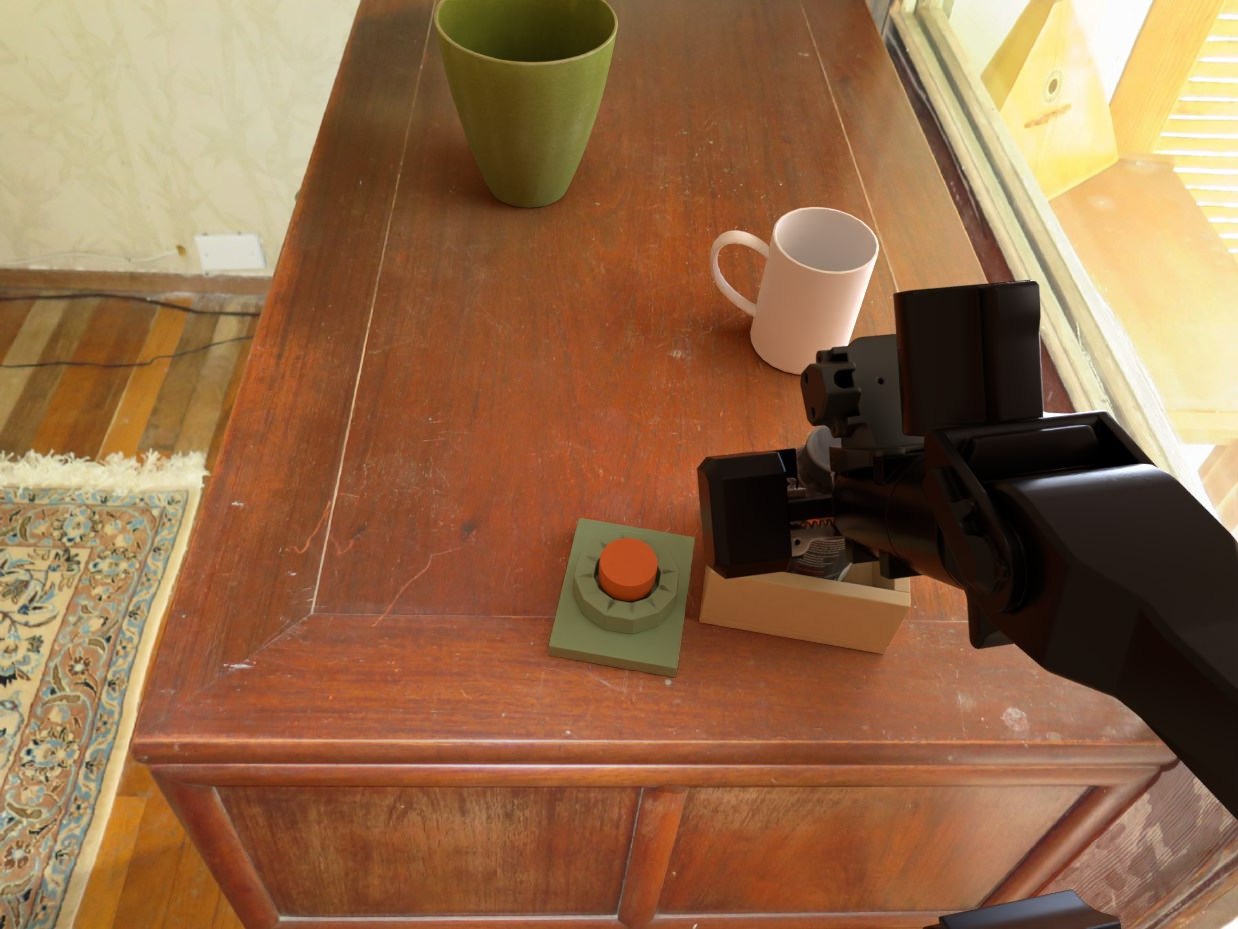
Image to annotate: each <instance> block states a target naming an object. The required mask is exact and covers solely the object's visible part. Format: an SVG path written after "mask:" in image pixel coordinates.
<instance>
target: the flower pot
mask: <svg viewBox="0 0 1238 929" xmlns="http://www.w3.org/2000/svg"><path fill="white" fill-rule="evenodd" d="M433 12H434V13H433V22H434V27H435V32H436V37H437V41H438V45H439V52H440V55H441V60H442V62H443V67H444V68H443V69H444V72H445V75H446V79H447V82H448V88H449V90H450V93H451V96H452V100H453V104H454V107H455V110H456V113H457V115H458V118H459V122H460V124H461V126H462V130H463V132H464V135H465V137H466V141H467V142H468V145H469V147H470V150H471V152H472V155H473V157H474V159H475V162H476V164H477V166H478V168H479V170H480V172H481V175H482V177H483V179H484V181H485V183H486V185H487V187H488V189H489V191H490V193H491V194H492V196H494V197H495V198H496V199H497V200H498V201H501V202H502V203H505V204H507V205H510V206H513V207H518V208H524V209H525V208H527V209H528V208H529V209H530V208H531V209H532V208H533V209H534V208H540V207H545V206H548V205H552V204H554V203H556V202H557V201H559V200H561V199H562V198H563V197H564V195H565V194H566V192H567V191H568V189H569V187H570V185H571V183H572V181H573V179H574V176H575V174H576V171H577V169H578V167H579V165H580V162H581V160H582V158H583V156H584V154H585V151H586V149H587V145H588V143H589V140H590V137H591V135H592V132H593V129H594V126H595V123H596V120H597V117H598V113H599V110H600V107H601V104H602V99H603V96H604V92H605V88H606V85H607V80H608V76H609V71H610V67H611V62H612V58H613V53H614V48H615V42H616V37H617V31H618V28H619V21H618V17H617V15H616V12H615V10H614V9H613V7H612V6H611V4H609V3H608V2H607V1H606V0H439V2H438V4H437V5H436V7H435V9H434V11H433Z"/></svg>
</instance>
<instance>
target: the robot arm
mask: <svg viewBox="0 0 1238 929" xmlns="http://www.w3.org/2000/svg"><path fill="white" fill-rule="evenodd" d="M1040 293H1041V290H1040V284H1039V283H1038V281H1037V280H1032V279H1023V280H1010V281H999V282H998V281H997V282H989V283H978V284H966V285H965V284H964V285H953V286H943V287H932V288H919V289H909V290H908V289H907V290H903V291H898V292H894V293H892V296H893V297H892V299H893V315H894V326H895V327H894V330H895V333H890V334H876V335H867V336H859V337H856V338H855V339H853V340H852V341H851V342H849V343H848V346H839V347H832V348H831V349H830V350H819V351H817V353H816V363H813V364H809V365H808V366H807V367H806V368H805V370H804V371H803V372H802V373H801V375H800V377H799V378H800V379H799V385H800V389H801V390H800V391H801V394H802V395H801V396H802V399H803V400H802V401H803V406H804V411H805V414H806V420H807V422H808V423H809V424H810V425H811V426H812V427H821V426H827V427H828V428H829V429H830V432H831V435H832V437H833V438H841V445H837V446H829V458H830V469H831V471H832V473H831V475H830V480H831V486H832V489H833V490H832V494H824V495H816V496H807V497H806V489H805V488H802V487H799V485H798V472H797V458H796V449H797V448H796V447H792V448H781V449H774V450H773V449H772V450H763V451H761V450H760V451H747V452H746V451H745V452H737V453H726V454H727V455H725V454H721V455H720V454H718V455H707V456H705V457H704V459H703V460H701V463H700V464H699V465H698V466H697V467H696V476H697V477H696V478H697V486H698V488H697V489H698V500H699V511H700V513H699V514H700V523H701V524H700V525H701V536H702V537H701V538H702V547H703V548H702V549H703V560H704V561H703V562H704V564H705V566H706V565H707V566H708V567H710V568H711V569H712V570H713V571H714V572H716V573H717V574H719V575H720V576H722V577H723V578H724V579H731V578H739V577H746V576H754V575H762V574H770V573H777V572H785V571H788V569H789V566H790V563H791V560H793V559H800V558H804V553H805V552H806V551H807V550H808V549H809V546H810V544H811V542H812V541H816V540H824V539H832V538H840V537H844V545H845V559H846V561H848V562H850V563H852V564H858V563H866V562H874V561H879V565H880V576H882V577H884V578H887V579H889V580H891V579H899V578H906V577H910V578H913V577H921V576H926V577H928V578H931V579H933V580H936V581H938V582H941V583H943V584H946V585H948V586H951V587H953V588H956V589H959V590H961V591H963V592H964V594H965V598H966V606H967V622H968V625H967V626H968V639H969V643H970V646H971V647H973V649H976V650H984V649H990V648H996V647H1003V646H1009V645H1015V646H1017V648H1018V649H1019V650H1020V651H1022V652H1023V653H1024V654H1025V655H1027V657H1029V658H1030V659H1031V660H1032V661H1034V662H1035V664H1037V665H1039V666H1040V667H1041V668H1042V669H1043V670H1045V671H1046V672H1048V673H1050V674H1052V675H1055V676H1057V677H1060V678H1062V679H1065V680H1068V681H1070V682H1073V683H1076V684H1078V685H1080V686H1083V687H1086V688H1088V689H1091V690H1094V691H1096V692H1099V693H1102V694H1104V695H1107V696H1109V697H1112V698H1113V699H1116V700H1117V701H1119V702H1120V703H1121V704H1123V705H1124V706H1125V707H1126V708H1127V709H1129V710H1130V711H1131V712H1132V713H1133V714H1135V715H1136V716H1137V717H1139V718H1140V720H1142V721H1143V722H1144V723H1145V724H1146V726H1147V727H1148V728H1149V729H1150V730H1151V731H1152V732H1153V733H1154V734H1155V735H1156V736H1157V737H1158V738H1159V739H1160V740H1161V741H1162V743H1163V744H1164V745H1165V746H1166V747H1167V748H1168V749H1169V750H1170V752H1172V753H1173V754H1174V755H1175V756H1176V757H1177V758H1178V760H1179V761H1180V762H1181V763H1182V764H1183V765H1184V766H1186V767H1185V768H1187V769H1188V770H1189V771H1190V772H1191V773H1192V774H1193V775H1194V776H1195V778H1197V779H1198V781H1199V782H1200V783H1201V784H1202V785H1203V786H1204V787H1205V788H1206V789H1207V790H1208V791H1209V792H1210V794H1212V796H1213V797H1215V799H1216V800H1217V801H1218V802H1219V803H1220V804H1221V805H1222V806H1223V807H1224V808H1225V809H1226V810H1227V811H1228V812H1229V814H1231V816H1232V817H1233V818H1234V819H1235V820H1236V821H1237V822H1238V540H1237V539H1236V538H1235V537H1234V536H1233V534H1232V533H1231V532H1230V531H1229V530H1228V529H1227V528H1226V527H1225V526H1224V525H1223V523H1221V522H1220V521H1219V519H1217V518H1216V517H1215V516H1214V515H1213V514H1212V513H1211V512H1210V511H1209V510H1208V509H1207V508H1206V507H1205V506H1204V505H1203V504H1202V503H1201V502H1200V501H1199V500H1198V499H1197V498H1196V497H1195V496H1194V495H1193V493H1191V492H1190V491H1189V489H1187V488H1186V487H1185V486H1184V485H1183V484H1182V483H1181V482H1180V480H1177V479H1176V478H1175V477H1174V476H1173V475H1172V474H1171V473H1170V472H1167V471H1165V470H1164V469H1161V468H1159V467H1158V466H1157V465H1156V464H1155V462H1153V460H1152V459H1151V458H1150V457H1149V456H1148V455H1147V454H1146V452H1145V451H1144V450H1143V449H1142V448H1141V447H1140V446H1139V445H1138V443H1137V442H1136V441H1135V440H1134V439H1133V438H1132V437H1131V436H1130V435H1129V434H1128V432H1126V431H1125V429H1123V427H1122V426H1121V425H1120V424H1119V423H1118V421H1117V420H1116V419H1115V418H1114V417H1113V416H1112V415H1111V413H1109V412H1108V410H1105V409H1099V410H1090V411H1082V412H1074V413H1061V412H1059V413H1057V412H1046V411H1045V402H1044V387H1043V386H1044V385H1043V383H1044V382H1043V367H1042V366H1043V364H1042V348H1041V330H1040V329H1041V328H1040V327H1041V318H1042V313H1041V312H1042V310H1041V309H1042V308H1041V294H1040ZM829 517H833V518H834V520H833V523H832V520H831V519H827V521H826V524H825V522H824V520H820V522H819V525H818V523H817V521H813V522H812V526H811V524H810V522H808V520H812V519H820V518H829ZM801 525H805V526H804V527H802V526H801ZM922 929H1122V922H1121V920H1120V918H1119V916H1117V915H1114V914H1110V913H1106V912H1102V911H1100V910H1097V909H1095V908H1094V907H1092V906H1091V905H1090V904H1088V903H1087V902H1085V901H1084V899H1083V898H1081V896H1080V895H1079V894H1078V893H1077V891H1075V890H1074V889H1072V888H1070V889H1065V890H1060V891H1056V892H1051V893H1047V894H1046V893H1045V894H1042V895H1037V896H1031V897H1027V898H1022V899H1017V900H1012V901H1008V902H1003V903H998V904H993V905H988V906H984V907H979V908H974V909H969V910H964V911H959V912H955V913H954V912H953V913H949V914H944V915H940V916H938V923H934V924H930V925H929V924H928V925H925V926H923V927H922Z"/></svg>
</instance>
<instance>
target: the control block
mask: <svg viewBox="0 0 1238 929" xmlns="http://www.w3.org/2000/svg"><path fill="white" fill-rule="evenodd" d="M622 538H632V539H637V540H640V541H642V542H644V543H646V544H647V545H648V546H650V547H651V548H652V550H653V551H654V553H655V554H656V557H657V561H658V567H657V573H656V579H655V584H654V586H653V588H652V590H651V591H650V592H649V593H648V594H647V595H646V596H645V597H643V598H641V599H638V600H635V601H622V600H618V599H615V598H613V597H611V596H610V595H608V594H607V593H606V592H605V591H604V590H603V588H602V587H601V585H600V582H599V576H598V574H599V563H600V556H601V553H602V551H603V550H604V548H605V547H606V546H607V545H608V544H610V543H611V542H613V541H615V540H618V539H622ZM572 539H573V540H572V544H571V548H570V552H569V556H568V560H567V566H566V570H565V573H564V578H563V582H562V586H561V591H560V594H559V598H558V599H559V600H558V603H557V607H556V612H555V616H554V620H553V625H552V629H551V633H550V638H549V641H548V650H547V653H548V656H552V657H558V658H563V659H568V660H573V661H574V660H575V661H580V662H584V663H585V662H586V663H590V664H596V665H603V666H608V667H613V668H619V669H625V670H630V671H637V672H641V673H647V674H654V675H658V676H664V677H671V678H676V675H677V672H678V666H679V659H680V652H681V644H682V638H683V637H682V636H683V631H684V622H685V616H686V609H687V603H688V602H687V601H688V594H689V586H690V580H691V572H692V564H693V556H694V550H695V545H696V544H695V543H696V537H695V536H689V535H683V534H679V533H672V532H667V531H660V530H655V529H649V528H642V527H636V526H631V525H624V524H618V523H613V522H606V521H601V520H596V519H589V518H583V517H578V519H577V523H576V527H575V530H574V535H573V538H572Z"/></svg>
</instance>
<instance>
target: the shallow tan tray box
mask: <svg viewBox="0 0 1238 929" xmlns="http://www.w3.org/2000/svg"><path fill="white" fill-rule="evenodd" d="M727 454H728V453H725V454H724V455H727ZM704 569H705V570H704V578H703V586H702V593H701V601H700V609H699V610H700V611H699V618H698V622H699V623H700V624H701V623H702V624H708V625H713V626H720V627H724V628H731V629H737V630H742V631H748V632H754V633H758V634H759V633H760V634H766V635H772V636H777V637H782V638H788V639H794V640H799V641H806V642H811V643H818V644H823V645H828V646H834V647H840V648H845V649H850V650H858V651H862V652H863V651H864V652H869V653H874V654H880V655H886V653H887V651H888V649H889V647H890V645H891V643H892V641H893V640H894V638H895V636H896V634H897V633H898V630H899V629H900V627H901V625H902V624H903V622H904V620H905V618H906V616H907V614H908V612H909V611H910V609H911V607H912V603H911V602H912V600H911V597H912V596H911V577H906V578H899V579H891V580H889V579H887V578H884V577H882V576H880V565H879V561H874V562H866V563H858V564H851V567H850V569H849V571H848V573H847V575H846V577H845V579H844V581H843V582H839V581H834V580H828V579H822V578H816V577H810V576H804V575H798V574H792V573H787V572H777V573H770V574H762V575H754V576H746V577H739V578H731V579H724V578H723V577H722V576H720V575H719V574H717V573H716V572H714V571H713V570H712V569H711V568H710V567H708V566H707V565H706V564H705V568H704Z"/></svg>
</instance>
